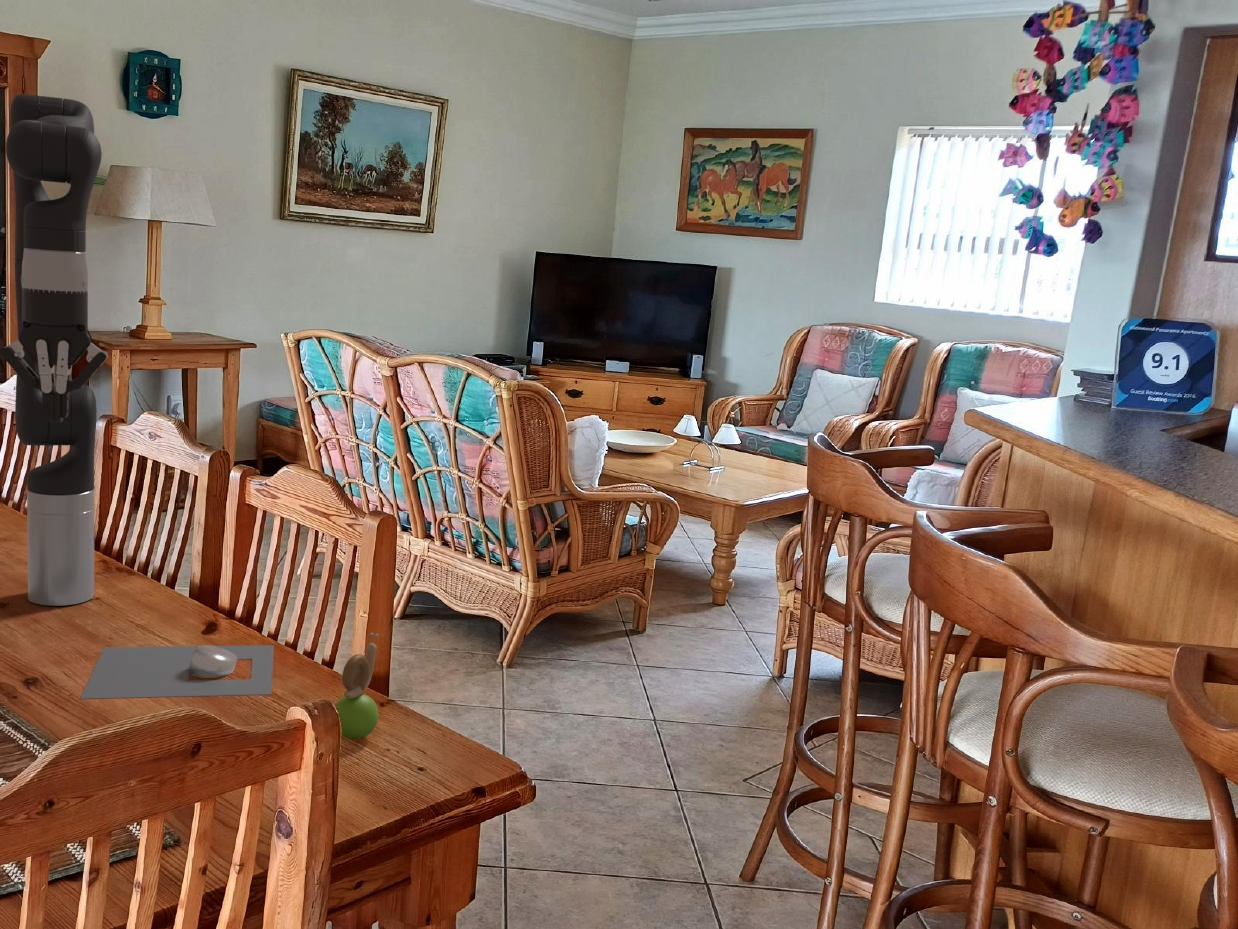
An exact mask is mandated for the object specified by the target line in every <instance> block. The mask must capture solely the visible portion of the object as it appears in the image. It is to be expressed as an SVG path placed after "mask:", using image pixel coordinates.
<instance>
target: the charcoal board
mask: <svg viewBox="0 0 1238 929" xmlns="http://www.w3.org/2000/svg"><path fill="white" fill-rule="evenodd" d="M197 646H198V645H196V646H194V645H191V646H189V645H188V646H187V645H186V646H185V645H184V646H182V645H181V646H179V645H178V646H119V647H118V646H112V647H111V646H109V647H108V646H107V647H105V646H103V648H102V651H101V652H100V654H99V657H98V659H97V661H96V664H95V665H94V667H93V670H92V672H91V674H90V677H89V678H88V681H87V683H86V685H85V688H84V689H83V691H82V694H81V696H80V698H79V699H80V700H102V699H140V698H141V699H143V698H181V697H183V698H185V697H186V698H187V697H188V698H189V697H190V698H191V697H229V696H235V697H236V696H267V695H269V696H270V695H272V694H273V693H272V692H273V691H272V689H273V672H274V671H273V670H274V650H275V645H266V644H265V645H262V644H261V645H216V646H217V647H220V648H223V649H226V650H228V651H230V652H232V653H233V654H234V655H236V657H237V660H251V670H250V678H249V679H203V680H202V679H200V680H199V679H198V680H194V679H193V680H189V677H190V674H189V673H188V667H189V664H190V661H191V659H192V656H193V653H194V650H195V648H196V647H197Z"/></svg>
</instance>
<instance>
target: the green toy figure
mask: <svg viewBox="0 0 1238 929" xmlns="http://www.w3.org/2000/svg"><path fill="white" fill-rule="evenodd" d="M368 636H369V638H370V643H368V644H367V645H366V648H365V652H366V655H363V654H361V653H360V654H359V653H358V654H354V655H352V656H351V657H350V658H349V659H347V661H346V662H345V665H344V667H343V670H342V673H341V675H342V676H341V681H342V686H343V687H344V689H345V690H346V691H344V693H343V696H342V697H341V698H339V699H338V700H337V702H336V703H335V704H334V706H336V708H337V711H338V712H339V717H340V722H341V727H342V736H341V737H343V738H345V739H347V740H360V739H363V738H365V737H367V736H369V735H370V734H372V732H373V731H374V730H375V729H376V727H377V725H378V723H379V722H378V721H379V715H380V714H379V708H378V706H377V703H376V702H375V701H374V699H373V698H372V697H370V696H369V695H367V694H364V692H365V690H366V689H367V688H368V686H369V685H370V684H371V680H372V677H373V673H374V668H375V663H376V653H377V651H378V646H377V640H378V638H379V634H378V633H373V632H371V633H369V635H368ZM373 638H375V643H373V642H372V639H373Z"/></svg>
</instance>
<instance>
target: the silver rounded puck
mask: <svg viewBox="0 0 1238 929" xmlns="http://www.w3.org/2000/svg"><path fill="white" fill-rule="evenodd" d="M196 646H197V647H196V648H195V650H194V653H193V656H192V659H191V661H190V664H189V667H188V673H189V676H191V677H195V678H200V679H202V678H203V679H212V678H213V679H214V678H215V679H216V678H220V677H225V676H228V675H230V674H232V673H233V672H234V670H235V667H236V665H237V662H238V659H237V657H236V655H234V654H233V653H232V652H230V651H228V650H226V649H223V648H220V647H217V646H218V645H211V644H202V645H200V644H199V645H196Z"/></svg>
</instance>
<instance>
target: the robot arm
mask: <svg viewBox="0 0 1238 929" xmlns="http://www.w3.org/2000/svg"><path fill="white" fill-rule="evenodd" d="M12 99H13V100H12V101H11V104H10V109H9V110H10V111H9V132H8V135H7V138H6V142H5V155H6V159H7V162H8V165H9V167H10V168H11V170H12V171H13V185H14V201H15V225H14V226H15V231H14V233H15V234H14V237H15V238H14V283H15V285H14V287H15V305H16V306H15V307H16V319H17V320H16V323H17V340H15V341H13V342H12V343H10V344H9V345H6V346H4V347H2V348H1V349H0V355H1V357H2V358H4V360H5V362H6V363H8V365H9V366H10V367H11V368H12V370H13V371H14V372H15V373H16V378H15V379H16V381H15V382H16V383H15V400H14V401H15V406H14V407H15V408H14V415H15V416H14V419H15V422H14V423H15V429H16V430H15V431H16V435H17V438H18V440H19V441H20V443H22V445H26V446H41V447H42V446H52V447H53V446H71V447H70V448H69V450H68V451H67V452H66V453H65V454H64V455H61V457H59V458H57V459H55V460H53V461H50V462H47V463H45V464H42V465H39V466H36V467H34V468H32V469H30V470H29V472H28V473H27V476H26V508H27V509H26V510H27V511H26V512H27V513H26V514H27V516H26V517H27V518H26V520H27V528H26V530H27V599H28V600H27V601H29V602H30V603H32V604H36V605H41V606H49V607H51V606H52V607H53V606H55V607H56V606H59V607H60V606H61V607H62V606H69V605H70V606H71V605H77V604H82V603H85V602H87V601H90V600H92V599H93V598H94V596H95V450H96V449H95V446H96V445H95V442H96V433H97V432H96V430H97V414H98V413H97V412H98V411H97V408H98V407H97V399H96V395H95V392H94V391H93V389H92V387H90V386H89V385H86V383H87V382H88V381H89V380H90V379H91V378H92V377H93V376H94V375H95V373H96V372H98V370H99V369H100V368H101V367H102V365H103V364H105V362H106V361H107V360H108V359H109V358H110V354H109V352H108V351H106V350H102V349H101V348H99V347H98V346H97V345H95V344H94V343H93V337H92V334H91V333H90V332H89V331H90V330H89V327H88V326H89V317H88V316H89V313H88V312H89V310H88V309H89V302H88V301H89V300H88V299H89V298H88V296H89V293H88V292H89V290H88V289H89V282H88V281H89V280H88V279H89V277H88V276H89V272H88V263H87V253H86V252H87V246H86V245H87V243H86V242H87V241H86V240H87V237H86V236H87V235H86V233H87V232H86V229H87V216H88V215H87V214H88V208H89V202H90V199H91V195H92V191H93V188H94V185H95V182H96V179H97V176H98V173H99V171H100V170H99V169H100V166H101V163H102V155H103V154H102V146H101V144H100V140H99V139H98V137H97V136H96V135H95V125H94V124H95V123H94V118H93V115H92V112H91V110H90V108H89V107H88V106H87V105H86V104H85V103H83V102H81V101H79V100H76V99H72V98H70V99H69V98H62V97H54V96H45V95H35V94H26V93H25V94H23V93H21V94H20V93H19V94H17V95H15V96H14V98H12ZM42 182H49V183H58V184H59V183H60V184H61V183H62V184H69V186H70V187H69V189H68V191H67V193H66V194H65V195H64V196H62V197H59V198H55V199H50V197H49V196H48V193H47V191H46V190H45V188H44V185H43V184H42ZM85 352H87V355H86V361H87V362H88V364H86V366H85V367H84V368H83V369H82V370H81V371H80V373H79V374H78V375H77V376H76V377H75V378H74V379H71V375H72V368H73V365H75V364H76V363H77V362H78V361H79V360H80V358H82V356H83V355H84V354H85ZM55 366H56V368H55ZM55 373H56V376H55ZM55 378H56V379H55Z"/></svg>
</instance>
